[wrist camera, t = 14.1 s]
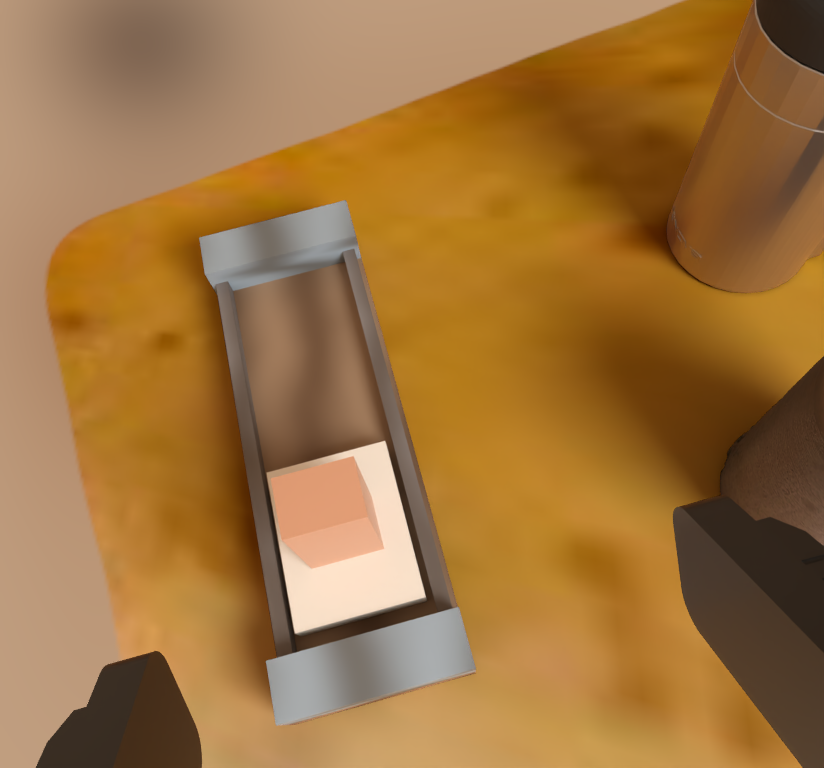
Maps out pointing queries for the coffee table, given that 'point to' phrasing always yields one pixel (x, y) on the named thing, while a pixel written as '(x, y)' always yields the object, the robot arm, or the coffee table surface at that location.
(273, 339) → the rail
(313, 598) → the carriage
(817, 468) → the pillar candle
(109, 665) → the robot arm
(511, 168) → the coffee table surface
